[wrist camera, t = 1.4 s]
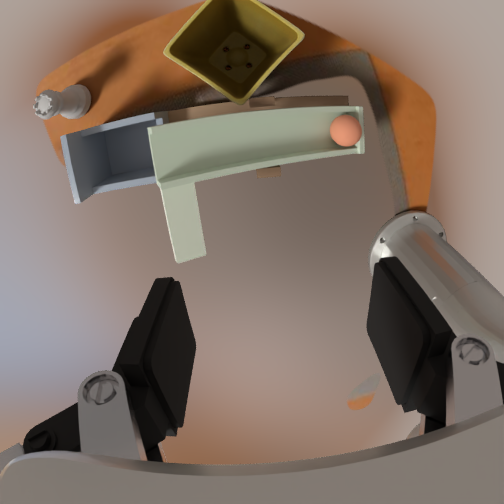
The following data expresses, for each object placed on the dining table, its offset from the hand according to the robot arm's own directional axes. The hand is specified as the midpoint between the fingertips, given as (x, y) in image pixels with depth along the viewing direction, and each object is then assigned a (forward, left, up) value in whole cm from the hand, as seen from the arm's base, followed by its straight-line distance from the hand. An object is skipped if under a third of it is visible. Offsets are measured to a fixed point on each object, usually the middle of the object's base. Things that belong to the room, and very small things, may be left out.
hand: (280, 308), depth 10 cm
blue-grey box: (+4, +14, -28) cm, 31 cm away
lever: (0, -1, -19) cm, 19 cm away
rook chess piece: (+11, +21, -28) cm, 37 cm away
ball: (+4, -8, -20) cm, 22 cm away
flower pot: (+12, +1, -28) cm, 30 cm away
